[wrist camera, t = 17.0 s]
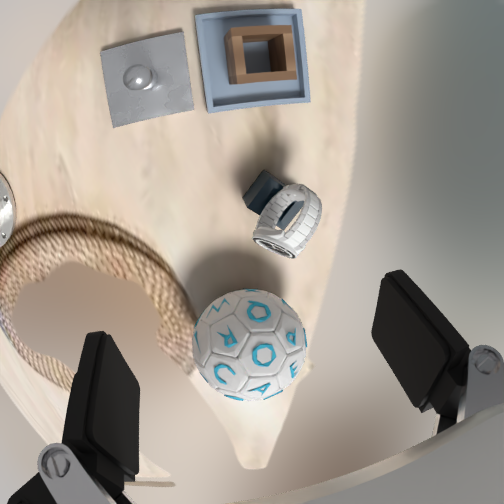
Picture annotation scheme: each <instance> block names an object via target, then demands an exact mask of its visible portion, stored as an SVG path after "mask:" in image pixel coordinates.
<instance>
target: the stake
mask: <svg viewBox="0 0 504 504" xmlns="http://www.w3.org/2000/svg"><path fill="white" fill-rule="evenodd" d="M100 53H101V61H102V68H103V74H104V81H105V87H106V93H107V98H108V104H109V109H110V115H111V120H112V125H113V128H115V127H119V126H123V125H127V124H131V123H135V122H139V121H143V120H147V119H151V118H156V117H160V116H165V115H170V114H175V113H180V112H185V111H190V110H194V105H193V98H192V92H191V85H190V78H189V70H188V63H187V56H186V48H185V41H184V33H183V32H179V33H174V34H169V35H164V36H159V37H154V38H150V39H145V40H141V41H137V42H133V43H129V44H125V45H122V46H118V47H115V48H111V49H108V50H104V51H101V52H100Z"/></svg>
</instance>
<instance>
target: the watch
mask: <svg viewBox="0 0 504 504" xmlns="http://www.w3.org/2000/svg"><path fill="white" fill-rule="evenodd" d="M243 200H244V202H245V204H246V206H247V208H249V209H250V210H252V211H253V212H255V213H257V214H258V215H260V217H259V219H258V221H257V225H256V228H255V229H256V230H254V232H253V237H252V239H253V240H254V241H255V242H256V243H257V244H258V245H260V246H262V247H263V248H265V249H267V250H269V251H271V252H273V253H276V254H278V255H281V256H284V257H287V258H296V257H297V256H298V255H299V253H300V252H301V251H302V250H303V249H304V248H305V246H306V245H305V244H306V243H307V242H308V241H309V240H310V239H311V237H312V236H313V234H314V233H315V231H316V229H317V227H318V224H319V222H320V218H321V213H322V204H321V200H320V199H319V198H318V197H317V195H316V194H315V193H314V192H313V191H312V190H310V189H309V188H307V187H306V186H304V185H303V184H291V185H285V184H284V183H282V182H281V181H280V180H278V179H277V178H275V177H274V176H272V175H271V174H269V173H268V172H267V171H265V170H263V171H262V172H261V174H260V175H259V176H258V178H257V179H256V180H255V182H254V183H253V184H252V186H251V187H250V188H249V190H248V191H247V192H246V194H245V195H244V197H243ZM304 200H305V201H304ZM303 205H304V206H303ZM301 208H302V210H301V213H300V214H299V216H298V218H297V219H296V221H297V222H294V224H293V225H292V226H291V228H290V229H289V230H288V231H287V232H286V233H285V231H283V230H284V229H285V228H286V227H287V226H288V224H289V223H290V222H291V221H292V219H293V218H294V217H295V216H296V214H297V213H298V212H299V210H300V209H301ZM303 222H304V223H303ZM306 224H307V225H306ZM275 226H277V227H279V228H281V229H282V230H276V229H275ZM311 231H312V232H311ZM306 239H307V240H306Z"/></svg>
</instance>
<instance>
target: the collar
mask: <svg viewBox="0 0 504 504" xmlns="http://www.w3.org/2000/svg"><path fill="white" fill-rule="evenodd" d="M264 41H268V50H269V59H270V68H271V72H263V73H252V74H246V66H245V58H244V50H243V43H249V42H264ZM224 45H225V53H226V61H227V69H228V77H229V85H233V84H245V83H255V82H266V81H280V80H297V73H296V62H295V52H294V43H293V34H292V26H291V25H265V26H247V27H234V28H230V29H229V31H228V32H227V33H226V35H225V36H224Z"/></svg>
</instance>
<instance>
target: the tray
mask: <svg viewBox="0 0 504 504" xmlns="http://www.w3.org/2000/svg"><path fill="white" fill-rule="evenodd" d="M195 23H196V31H197V39H198V47H199V54H200V62H201V69H202V77H203V84H204V91H205V99H206V106H207V112H208V114H209V113H215V112H221V111H228V110H235V109H243V108H251V107H260V106H270V105H280V104H293V103H308V102H310V88H309V76H308V65H307V55H306V45H305V36H304V27H303V19H302V11H301V9H254V10H237V11H225V12H215V13H207V14H199V15H195ZM265 25H291V26H292V34H293V43H294V52H295V62H296V73H297V80H280V81H266V82H255V83H245V84H233V85H229V77H228V69H227V61H226V53H225V45H224V36H225V35H226V33H227V32H228V31H229V29H230V28H234V27H247V26H265ZM243 50H244V58H245V66H246V74H252V73H263V72H271V68H270V59H269V50H268V41H264V42H249V43H243Z"/></svg>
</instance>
